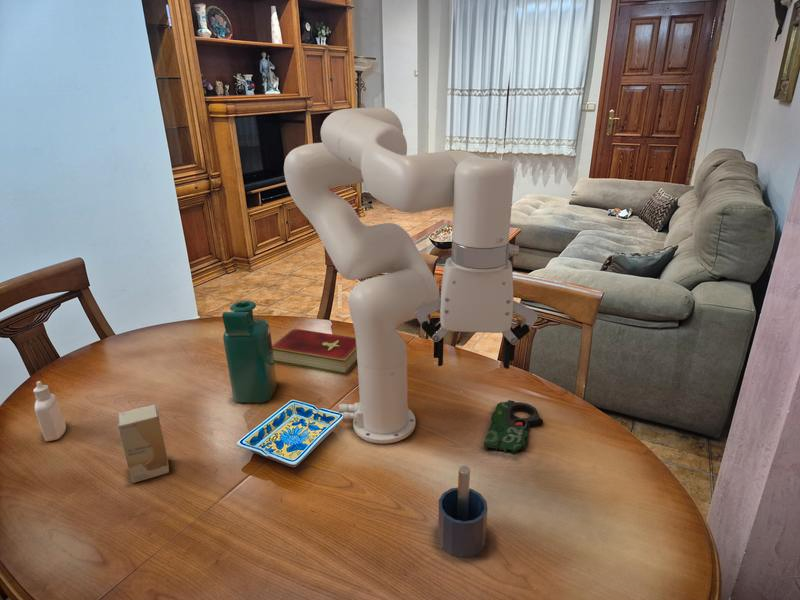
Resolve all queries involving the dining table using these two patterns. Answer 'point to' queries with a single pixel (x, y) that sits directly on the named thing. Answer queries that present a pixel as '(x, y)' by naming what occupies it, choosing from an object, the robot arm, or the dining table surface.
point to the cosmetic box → (143, 443)
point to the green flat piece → (510, 427)
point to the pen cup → (462, 524)
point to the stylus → (463, 493)
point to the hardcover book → (316, 351)
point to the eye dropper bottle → (48, 413)
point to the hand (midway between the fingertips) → (472, 362)
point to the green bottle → (249, 354)
